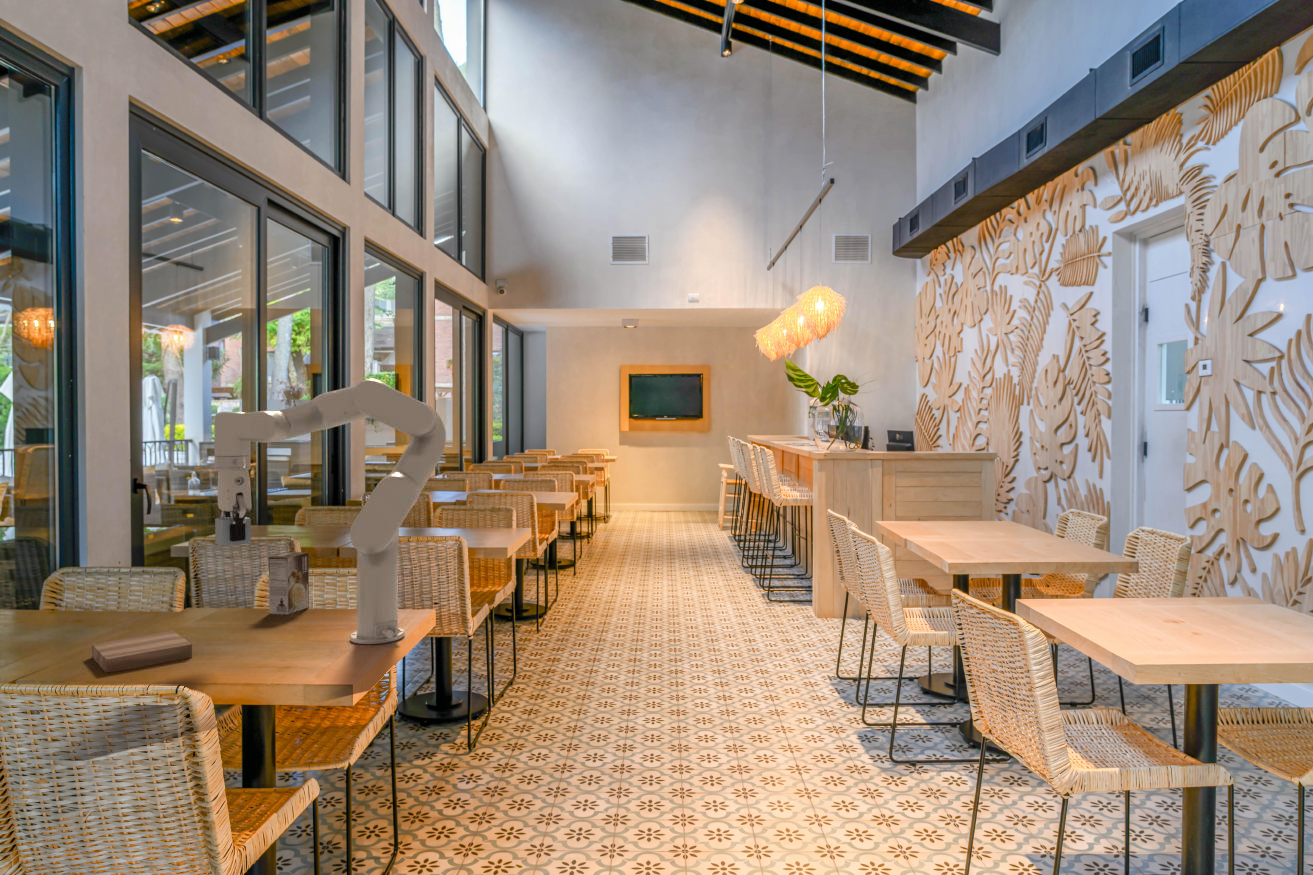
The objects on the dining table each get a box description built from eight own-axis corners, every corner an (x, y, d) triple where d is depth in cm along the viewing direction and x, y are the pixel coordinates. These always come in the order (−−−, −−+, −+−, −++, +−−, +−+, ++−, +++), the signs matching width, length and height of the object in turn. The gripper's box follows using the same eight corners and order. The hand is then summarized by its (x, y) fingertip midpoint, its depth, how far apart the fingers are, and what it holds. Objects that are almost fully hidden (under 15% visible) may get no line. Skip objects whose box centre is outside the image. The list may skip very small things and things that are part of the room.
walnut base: (192, 657, 175) (191, 644, 174) (106, 673, 163) (106, 659, 163) (173, 643, 186) (173, 630, 186) (92, 657, 175) (92, 644, 175)
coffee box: (290, 606, 224) (289, 551, 224) (309, 607, 223) (309, 552, 223) (268, 614, 215) (267, 556, 215) (288, 615, 214) (288, 557, 214)
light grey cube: (250, 543, 184) (250, 518, 184) (223, 546, 180) (222, 520, 180) (242, 540, 188) (242, 516, 188) (215, 543, 184) (215, 518, 184)
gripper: (261, 464, 180) (262, 541, 180) (238, 462, 193) (238, 534, 193) (226, 465, 175) (227, 544, 175) (204, 463, 187) (205, 537, 187)
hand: (233, 538), depth 184 cm, fingers closed on light grey cube, 6 cm apart
